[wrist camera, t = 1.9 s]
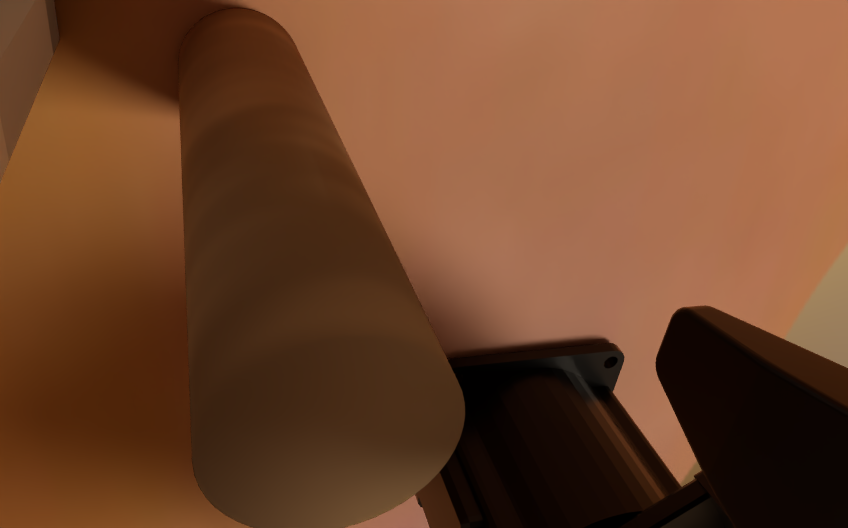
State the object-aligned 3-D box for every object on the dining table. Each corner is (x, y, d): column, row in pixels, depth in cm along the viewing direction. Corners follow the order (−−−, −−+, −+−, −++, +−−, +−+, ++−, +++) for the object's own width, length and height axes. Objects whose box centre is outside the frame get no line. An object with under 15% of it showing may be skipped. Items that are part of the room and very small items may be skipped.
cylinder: (303, 12, 15) (485, 323, 6) (299, 126, 17) (445, 510, 8) (174, 4, 14) (184, 349, 6) (181, 125, 16) (197, 552, 7)
